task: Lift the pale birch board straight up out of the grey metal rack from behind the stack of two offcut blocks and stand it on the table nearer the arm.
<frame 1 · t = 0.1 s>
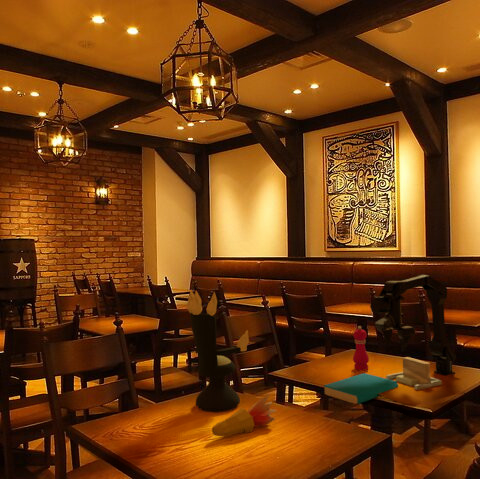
hand: (395, 348, 203), 14 cm above the table, tool pointing down, fingers open, 9 cm apart
candelabra: (215, 407, 182), on the table
sheet: (416, 384, 200), on the table
torch: (244, 431, 159), on the table
book: (361, 393, 193), on the table
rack: (414, 384, 200), on the table
pepper mill: (361, 369, 227), on the table
offcut top: (406, 382, 199), point 1 cm above the table
offcut low: (407, 387, 198), on the table
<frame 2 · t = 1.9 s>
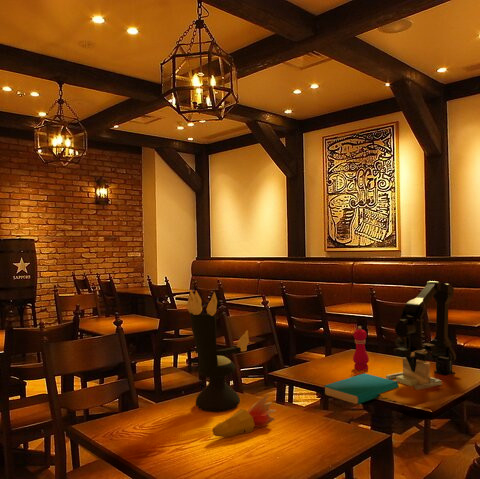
hand: (416, 371, 200), 6 cm above the table, tool pointing down, fingers closed on sheet, 3 cm apart
sheet: (416, 384, 200), on the table, touching gripper
offcut top: (406, 383, 198), point 1 cm above the table, touching offcut low
offcut low: (407, 388, 198), on the table, touching offcut top
everything else where it was.
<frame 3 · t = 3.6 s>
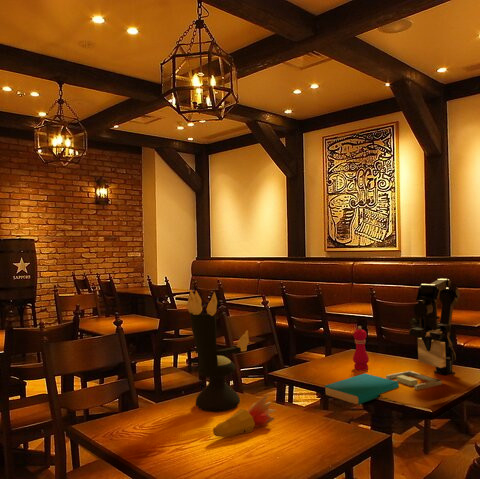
hand: (431, 350, 204), 13 cm above the table, tool pointing down, fingers closed on sheet, 3 cm apart
sheet: (431, 364, 204), point 7 cm above the table, touching gripper
everything else where it was.
when the fingers open (6 cm above the table, at t = 5.0 s): sheet stays where it is, on the table.
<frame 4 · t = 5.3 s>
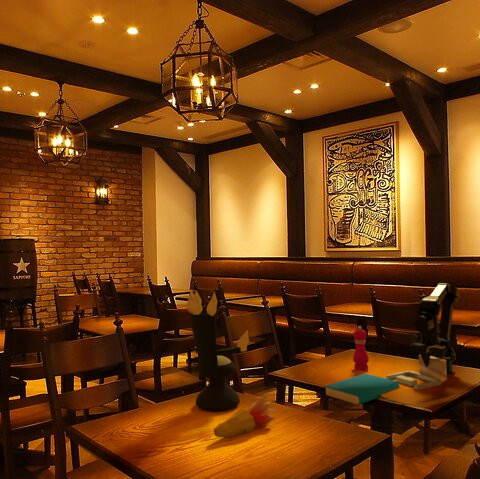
hand: (432, 365, 204), 6 cm above the table, tool pointing down, fingers open, 6 cm apart
sheet: (432, 381, 204), on the table
everything else where it was.
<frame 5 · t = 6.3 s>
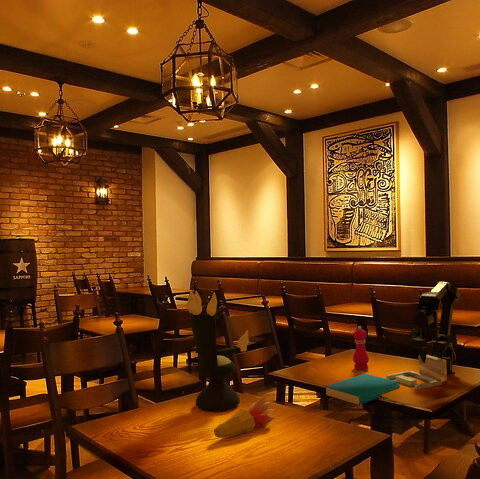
hand: (431, 361, 204), 8 cm above the table, tool pointing down, fingers open, 9 cm apart
offcut top: (405, 382, 198), point 1 cm above the table
offcut low: (406, 388, 198), on the table
everything else where it was.
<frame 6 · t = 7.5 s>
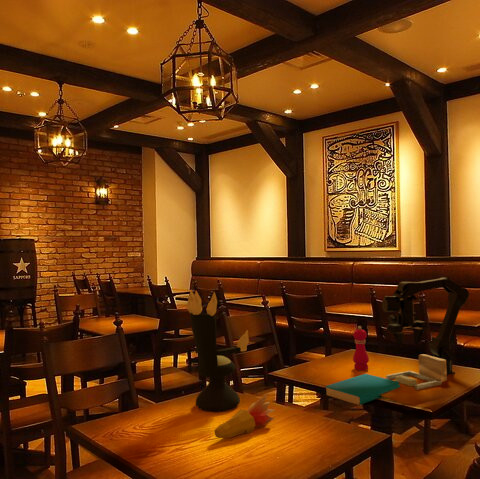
hand: (408, 346, 213), 13 cm above the table, tool pointing down, fingers open, 9 cm apart
offcut top: (405, 382, 198), point 1 cm above the table, touching offcut low
offcut low: (406, 387, 198), on the table, touching offcut top
everything else where it was.
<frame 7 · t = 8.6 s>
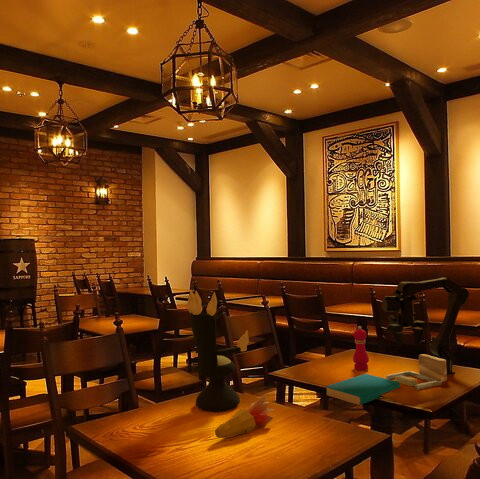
hand: (407, 346, 213), 13 cm above the table, tool pointing down, fingers open, 9 cm apart
at the end: sheet inside the target area (0.1 cm from its centre), on the table; sheet tilted 0°; the gripper is holding nothing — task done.
